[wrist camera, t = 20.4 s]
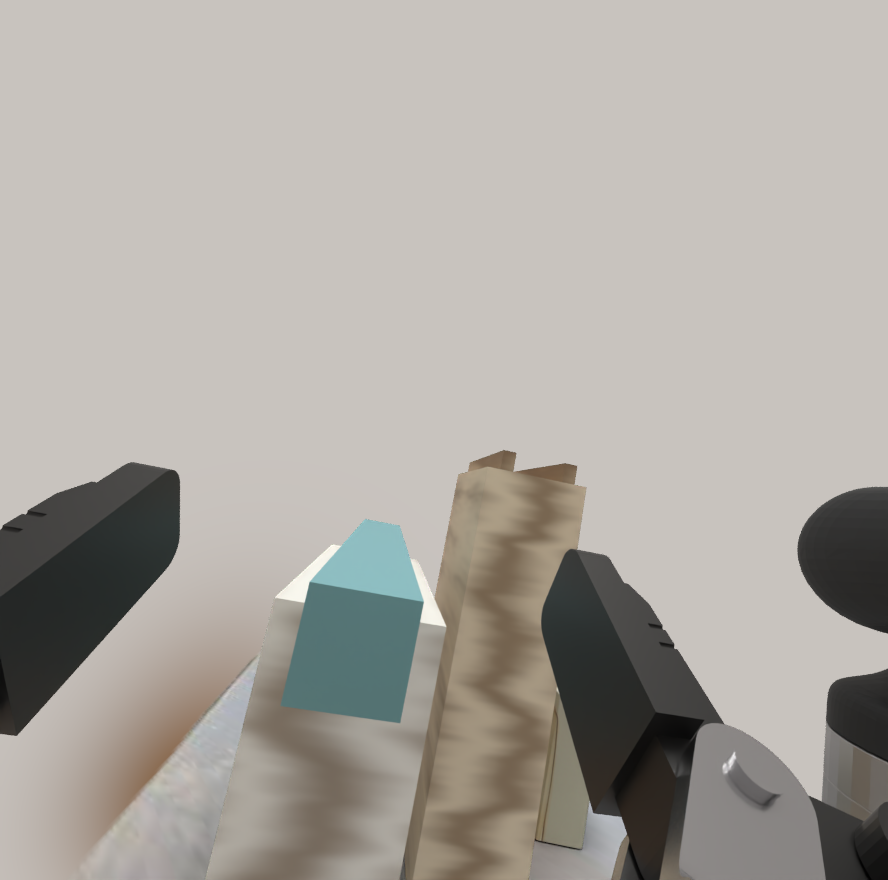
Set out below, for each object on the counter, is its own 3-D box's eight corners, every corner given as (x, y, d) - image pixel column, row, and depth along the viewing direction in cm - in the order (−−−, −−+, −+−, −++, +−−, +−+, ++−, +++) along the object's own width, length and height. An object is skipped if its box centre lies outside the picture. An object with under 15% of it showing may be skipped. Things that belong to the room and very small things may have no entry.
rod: (392, 560, 36) (399, 525, 37) (400, 723, 11) (423, 602, 11) (357, 554, 36) (365, 519, 36) (280, 705, 10) (309, 581, 11)
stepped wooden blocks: (479, 783, 43) (530, 475, 47) (602, 1179, 18) (685, 457, 23) (288, 758, 41) (361, 439, 45) (135, 1163, 16) (328, 377, 21)
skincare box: (519, 793, 42) (539, 665, 44) (563, 801, 42) (581, 674, 44) (535, 843, 36) (557, 693, 38) (586, 853, 36) (606, 702, 38)
